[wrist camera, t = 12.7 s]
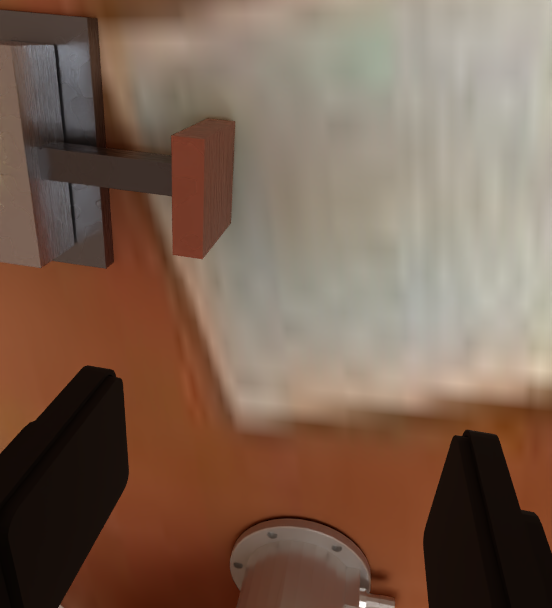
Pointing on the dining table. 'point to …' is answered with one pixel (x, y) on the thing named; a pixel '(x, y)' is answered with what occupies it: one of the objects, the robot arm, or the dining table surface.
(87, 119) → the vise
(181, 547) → the dining table surface
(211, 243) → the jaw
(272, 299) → the dining table surface
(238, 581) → the robot arm
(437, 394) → the dining table surface
